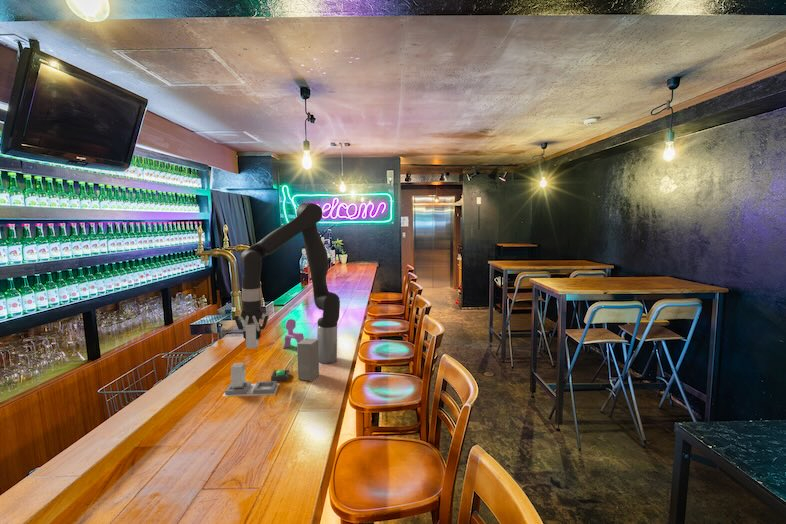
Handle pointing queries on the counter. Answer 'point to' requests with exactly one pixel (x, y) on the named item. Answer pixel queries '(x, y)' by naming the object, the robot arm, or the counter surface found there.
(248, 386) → the grey socket board
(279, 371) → the button
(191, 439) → the counter surface
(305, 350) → the skincare box
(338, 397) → the counter surface
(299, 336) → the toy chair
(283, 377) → the button housing
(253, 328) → the block
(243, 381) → the block
